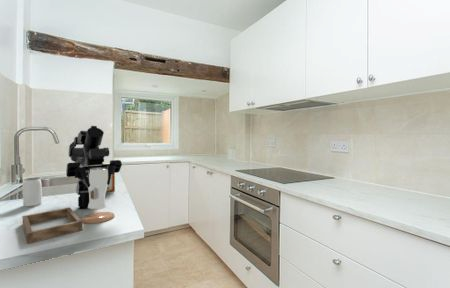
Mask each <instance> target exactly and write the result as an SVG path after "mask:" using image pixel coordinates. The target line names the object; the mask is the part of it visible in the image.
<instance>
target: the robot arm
mask: <svg viewBox="0 0 450 288" xmlns="http://www.w3.org/2000/svg"><path fill="white" fill-rule="evenodd" d="M103 137H104V131H103V130H102V129H101V128H99V127H97V125H91V126H90V127H89V128H88V129H87V130H80V131H79V133H78V134H77V136H74V139H73V142H72V143H70V144H69V146H68V158H70V160H71V161H72V162H68V163H67V164H66V171H65V176H66V177H67V178H73V177H74V178H76V179H78V181H77V183H76V187H75V188H76V189H75V192H76V194H77V196H78V197H77V206H78V209H79V210H82V209H88V204H89V191H88V187H89V182H88V171H89V168H108V185H109V184H110V178H111V175H112V174H114V173H115V174H116V173H117V174H118V173H119V172H120V171H121V169H122V165H123V164H122V161H121V159H113V160H112V159H111V160H109V163H110V164H103V163H105V157H109V156H110V149H109V147H103V148H100V146H101V145H102V141H103V139H104V138H103ZM78 145H80V146H81V145H83V146H82V147H76V146H78Z"/></svg>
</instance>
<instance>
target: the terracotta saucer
mask: <svg viewBox="0 0 450 288" xmlns="http://www.w3.org/2000/svg"><path fill="white" fill-rule="evenodd" d="M114 217H115V213H114V212H111V211H98V212H92V213H89V214H87V215H85V216H83V217H82V218H81V220H82V224H92V225H93V224H101V223H105V222H108V221H111V220H113V219H114Z"/></svg>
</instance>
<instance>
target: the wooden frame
mask: <svg viewBox="0 0 450 288" xmlns="http://www.w3.org/2000/svg"><path fill="white" fill-rule="evenodd" d="M65 217H67V219H68V220H69V221H70V222H68V223H63V224H59V225H55V226H49V227H45V228H40V229H35V230H33V229H32V226H31V224H35V223H40V222H45V221H51V220H55V219H60V218H65ZM22 227H23V231H24V235H25V239H26V244H28V245H29V244H31V243H32V244H33V243H36V242H40V241H44V240H49V239H52V238H56V237H60V236H64V235H67V234H71V233H75V232H80V231H83V222H82V218H80V217H79V216H78V215H77V214H76V212H74V211H73V210H72V208H70V207H64V208H59V209H54V210H48V211H43V212H37V213H33V214H26V215H22Z"/></svg>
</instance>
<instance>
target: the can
mask: <svg viewBox="0 0 450 288" xmlns="http://www.w3.org/2000/svg"><path fill="white" fill-rule="evenodd" d="M42 186H43V185H42V180H41V177H27V178H24V179H23V182H22V205H23V207H25V206H26V207H25V208H28V207H29V208H30V206H32V207H36V206H40V205H41V204H42V203H43V195H42V194H43V191H42V189H43V187H42Z"/></svg>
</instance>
